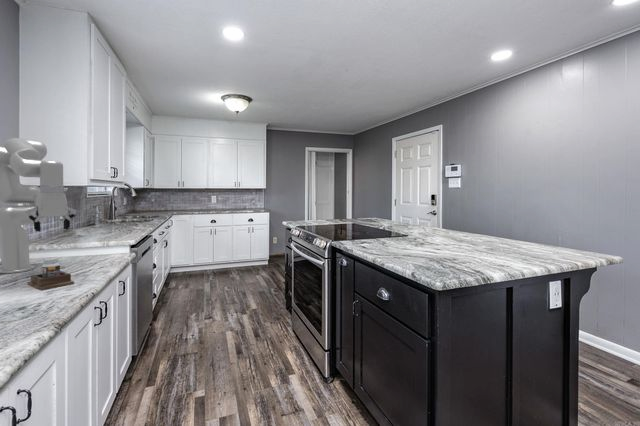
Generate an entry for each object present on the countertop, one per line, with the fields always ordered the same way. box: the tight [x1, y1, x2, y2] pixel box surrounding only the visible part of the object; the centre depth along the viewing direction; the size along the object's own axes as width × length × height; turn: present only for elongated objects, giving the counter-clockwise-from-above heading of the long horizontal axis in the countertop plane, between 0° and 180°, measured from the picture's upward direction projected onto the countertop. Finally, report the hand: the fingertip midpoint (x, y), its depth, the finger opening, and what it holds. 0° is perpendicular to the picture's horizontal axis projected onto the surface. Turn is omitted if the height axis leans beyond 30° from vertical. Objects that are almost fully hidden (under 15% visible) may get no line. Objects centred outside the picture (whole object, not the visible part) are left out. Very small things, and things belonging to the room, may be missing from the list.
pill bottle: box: [41, 257, 61, 278], centre depth 130 cm, size 6×6×10 cm
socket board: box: [27, 270, 75, 291], centre depth 130 cm, size 14×11×4 cm
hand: (52, 230), depth 133 cm, fingers open, 9 cm apart
